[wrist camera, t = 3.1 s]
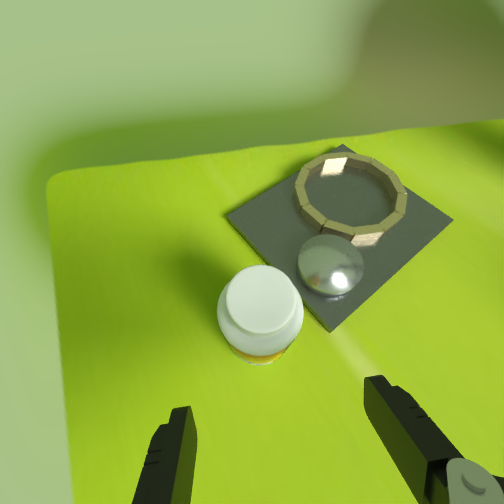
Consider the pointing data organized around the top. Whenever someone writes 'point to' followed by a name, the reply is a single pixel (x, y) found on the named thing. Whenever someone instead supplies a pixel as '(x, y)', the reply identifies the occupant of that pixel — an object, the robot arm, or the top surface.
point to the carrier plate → (338, 230)
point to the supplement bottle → (260, 314)
